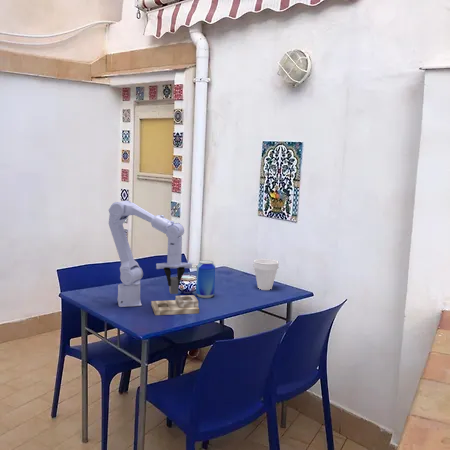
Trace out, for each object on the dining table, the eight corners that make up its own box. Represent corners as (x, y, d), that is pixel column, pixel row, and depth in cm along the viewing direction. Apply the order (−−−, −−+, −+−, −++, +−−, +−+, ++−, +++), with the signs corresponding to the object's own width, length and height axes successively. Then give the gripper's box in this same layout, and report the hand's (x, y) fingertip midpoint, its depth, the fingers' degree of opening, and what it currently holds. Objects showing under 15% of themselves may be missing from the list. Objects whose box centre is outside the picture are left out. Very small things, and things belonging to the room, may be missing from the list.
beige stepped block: (155, 315, 206) (155, 304, 206) (151, 305, 219) (151, 295, 218) (199, 313, 211) (199, 302, 210) (192, 303, 223) (193, 293, 223)
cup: (278, 292, 247) (279, 264, 245) (252, 291, 247) (254, 263, 245) (276, 285, 259) (277, 259, 257) (251, 284, 259) (253, 258, 257)
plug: (170, 293, 211) (170, 279, 210) (169, 291, 215) (169, 277, 214) (178, 293, 212) (178, 279, 211) (176, 290, 216) (176, 277, 215)
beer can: (198, 298, 231) (199, 263, 229) (194, 293, 239) (195, 259, 237) (216, 298, 233) (217, 263, 231) (211, 293, 241) (213, 259, 239)
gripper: (158, 255, 205) (157, 288, 207) (193, 254, 209) (192, 287, 211) (155, 251, 212) (155, 283, 214) (190, 251, 216) (189, 282, 218)
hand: (173, 285), depth 213 cm, fingers closed on plug, 3 cm apart
